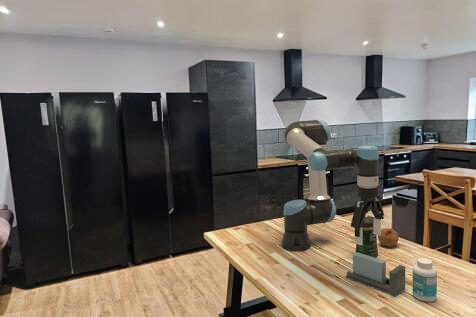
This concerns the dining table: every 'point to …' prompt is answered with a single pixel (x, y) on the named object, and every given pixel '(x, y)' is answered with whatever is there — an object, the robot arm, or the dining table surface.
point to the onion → (388, 237)
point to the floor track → (392, 285)
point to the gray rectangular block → (369, 267)
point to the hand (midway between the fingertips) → (368, 239)
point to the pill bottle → (424, 280)
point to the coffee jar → (368, 238)
